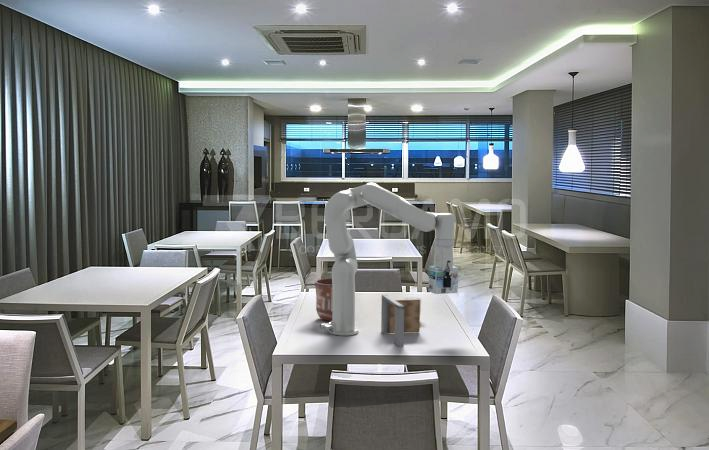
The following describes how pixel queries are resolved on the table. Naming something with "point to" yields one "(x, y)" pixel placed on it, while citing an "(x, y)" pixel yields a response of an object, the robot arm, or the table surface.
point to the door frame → (398, 319)
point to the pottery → (324, 299)
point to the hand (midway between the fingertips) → (443, 285)
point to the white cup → (413, 299)
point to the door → (405, 316)
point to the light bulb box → (437, 280)
